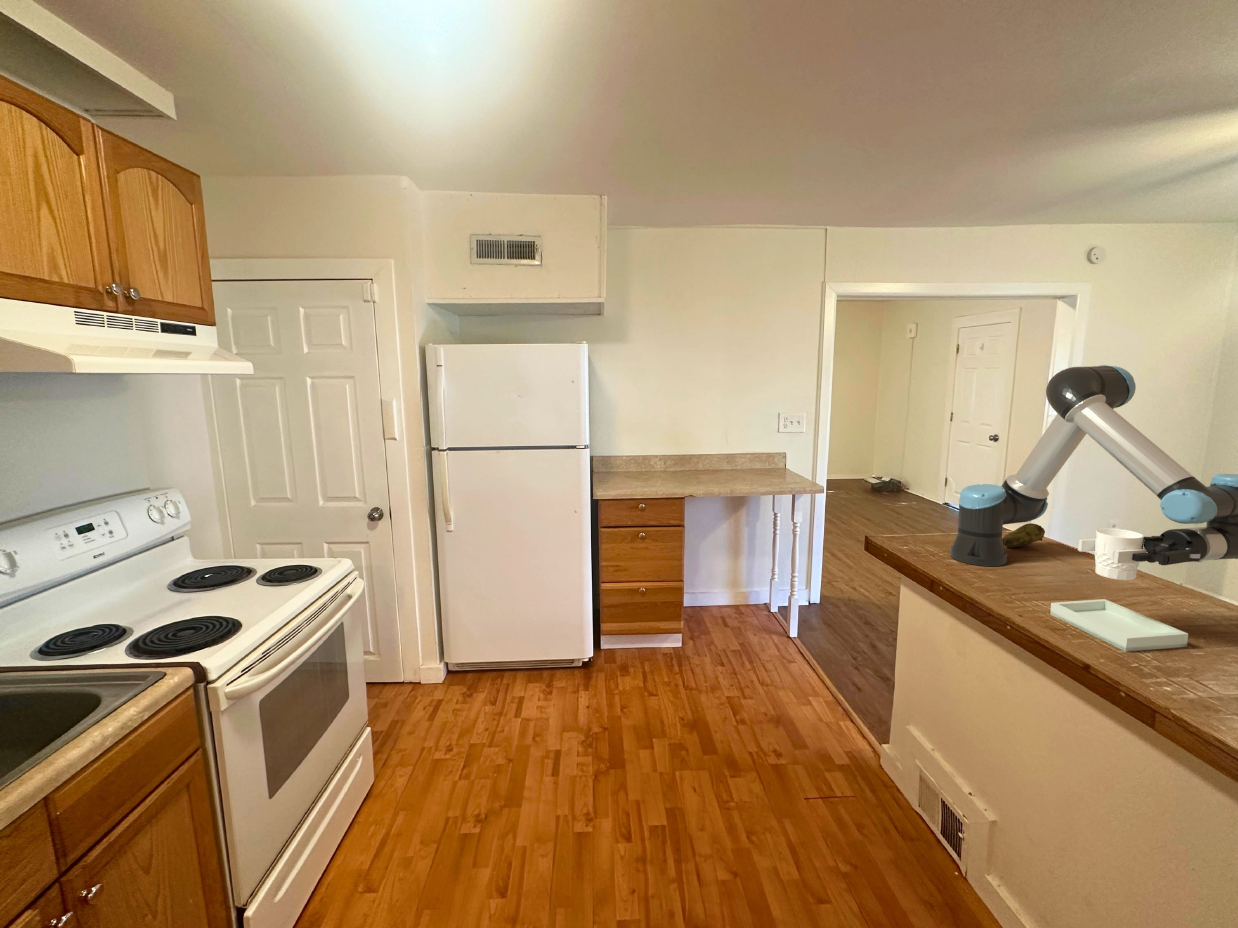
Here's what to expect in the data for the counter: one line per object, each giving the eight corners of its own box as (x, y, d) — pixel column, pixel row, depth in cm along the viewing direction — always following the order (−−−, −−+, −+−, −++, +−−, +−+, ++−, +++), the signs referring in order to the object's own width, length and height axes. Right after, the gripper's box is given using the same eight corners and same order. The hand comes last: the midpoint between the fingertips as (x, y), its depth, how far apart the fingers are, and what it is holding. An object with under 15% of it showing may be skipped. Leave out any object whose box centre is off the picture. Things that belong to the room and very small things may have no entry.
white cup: (1148, 582, 115) (1153, 538, 113) (1106, 581, 116) (1111, 537, 115) (1122, 569, 122) (1126, 528, 121) (1083, 568, 124) (1087, 527, 122)
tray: (1050, 614, 128) (1051, 602, 128) (1103, 610, 129) (1104, 598, 129) (1125, 651, 111) (1127, 638, 110) (1186, 646, 111) (1188, 633, 111)
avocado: (994, 542, 182) (995, 520, 181) (1037, 543, 179) (1039, 521, 178) (1005, 550, 174) (1007, 526, 173) (1050, 551, 171) (1052, 528, 170)
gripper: (1244, 576, 110) (1144, 583, 109) (1140, 546, 130) (1055, 552, 129) (1249, 542, 109) (1148, 549, 107) (1144, 517, 129) (1057, 523, 128)
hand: (1097, 551), depth 118 cm, fingers closed on white cup, 8 cm apart
